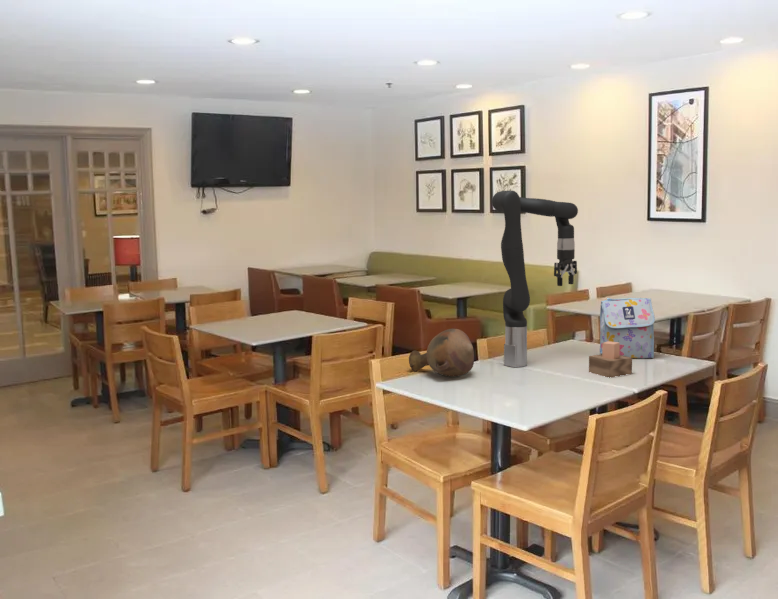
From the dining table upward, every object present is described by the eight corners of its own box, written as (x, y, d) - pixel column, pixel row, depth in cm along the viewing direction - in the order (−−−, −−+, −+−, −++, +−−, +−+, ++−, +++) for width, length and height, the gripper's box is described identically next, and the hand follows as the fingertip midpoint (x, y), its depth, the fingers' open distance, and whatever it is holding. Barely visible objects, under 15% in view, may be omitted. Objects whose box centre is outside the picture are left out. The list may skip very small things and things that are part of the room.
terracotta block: (613, 359, 312) (614, 344, 311) (602, 357, 315) (602, 343, 314) (619, 356, 315) (619, 342, 315) (607, 355, 319) (608, 341, 318)
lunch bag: (603, 360, 340) (604, 301, 336) (596, 352, 357) (597, 296, 353) (656, 360, 338) (657, 300, 335) (646, 352, 355) (647, 295, 351)
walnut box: (609, 378, 309) (609, 361, 308) (588, 372, 319) (589, 356, 318) (631, 374, 314) (632, 357, 313) (611, 369, 325) (611, 352, 324)
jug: (486, 376, 316) (429, 378, 336) (485, 328, 318) (429, 333, 339) (455, 375, 301) (398, 377, 321) (454, 325, 304) (398, 330, 324)
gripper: (563, 249, 332) (563, 287, 334) (582, 247, 342) (581, 284, 344) (549, 249, 338) (548, 286, 340) (567, 247, 347) (567, 283, 349)
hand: (565, 285), depth 342 cm, fingers open, 8 cm apart
